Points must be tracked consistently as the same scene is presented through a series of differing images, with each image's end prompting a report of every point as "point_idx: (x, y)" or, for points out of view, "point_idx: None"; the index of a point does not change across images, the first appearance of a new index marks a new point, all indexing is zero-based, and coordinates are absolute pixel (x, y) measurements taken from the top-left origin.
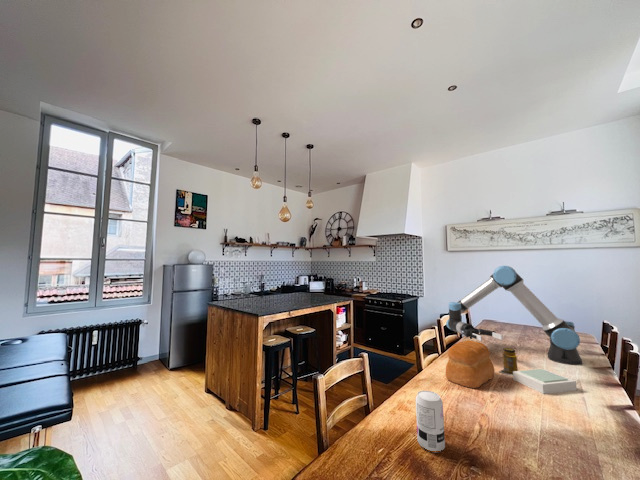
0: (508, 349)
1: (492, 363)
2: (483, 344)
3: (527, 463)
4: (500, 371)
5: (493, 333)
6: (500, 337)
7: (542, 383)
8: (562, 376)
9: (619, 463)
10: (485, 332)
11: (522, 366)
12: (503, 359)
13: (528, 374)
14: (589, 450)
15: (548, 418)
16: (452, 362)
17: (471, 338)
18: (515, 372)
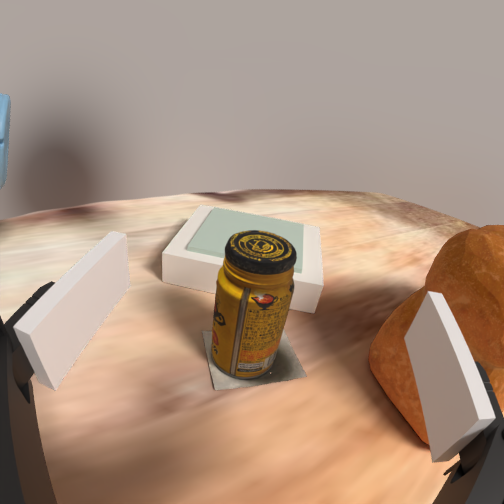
0: (265, 247)
1: (397, 307)
2: (474, 230)
3: (464, 224)
4: (294, 374)
5: (49, 328)
6: (120, 273)
7: (312, 228)
8: (192, 219)
9: (380, 196)
10: (28, 469)
11: (87, 360)
12: (283, 320)
13: (301, 249)
14: (392, 206)
15: (390, 229)
16: None
17: (457, 464)
18: (321, 278)
